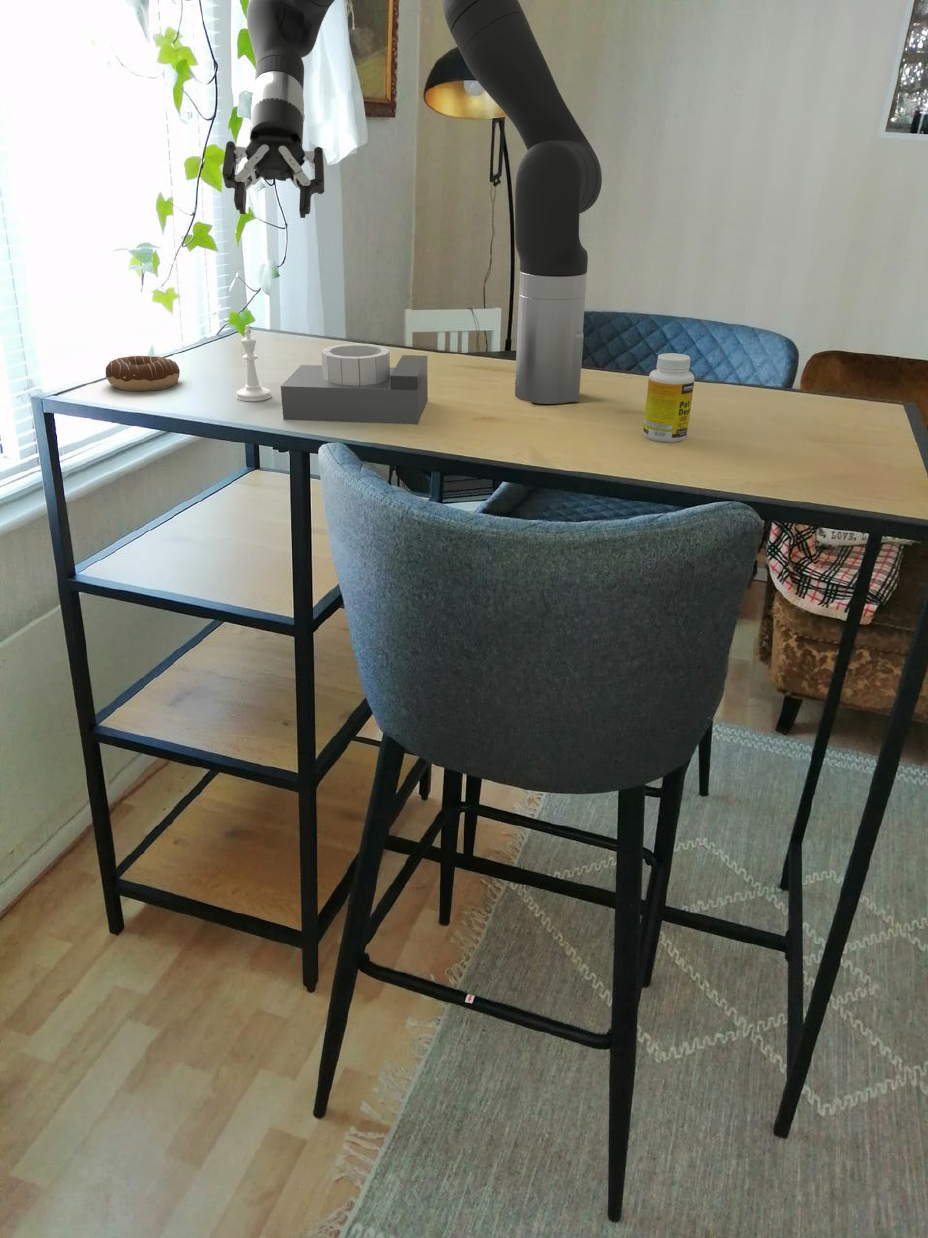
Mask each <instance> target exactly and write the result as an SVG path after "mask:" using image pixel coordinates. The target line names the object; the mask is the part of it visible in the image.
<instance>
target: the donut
mask: <svg viewBox="0 0 928 1238" xmlns="http://www.w3.org/2000/svg"><path fill="white" fill-rule="evenodd" d="M180 373H181V372H180V368H179V365H178V363H177V362H176V361H173V359H170V358H166V357H161V356H151V355H130V356H129V355H128V356H124V357H118V358H115V359H112V360H111V361H109V363H108V364H107V365H106V367H105V377H106V379H107V381H108V383H109V384H110V385H112V387H114V388H116V389H119V390H122V391H127V392H128V391H129V392H148V391H158V390H163V389H166V388H171V387H172V386H174V385H175V384H176V383H177V382H178V380H179V379H180Z"/></svg>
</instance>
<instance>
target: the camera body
mask: <svg viewBox="0 0 928 1238" xmlns="http://www.w3.org/2000/svg"><path fill="white" fill-rule="evenodd" d="M390 358H391V357H390V349H389V348H387V347H385V346H383V345H376V344H371V343H347V344H346V343H345V344H337V345H331V346H327V347H325V348H324V349H323V350H322V351H321V365H319V364H317V365H316V364H315V365H313V364H301V365H299V367H298V368H297V369H296V370H295V371H294V372H293V373H292V374H291V375H290V376H289V377H288V378H287V379H286V380H285V381H284V382H283V383H282V384H281V385H280V393H281V404H282V405H281V407H282V417H283V419H282V420H283V421H301V422H302V421H303V422H305V421H306V422H307V421H308V422H310V421H311V422H332V423H333V422H335V423H339V422H340V423H365V424H391V425H392V424H393V425H397V424H398V425H419V422H420V420H421V417H422V415H423V413H424V410H425V408H426V405H427V403H428V401H429V400H428V399H429V398H428V394H429V393H428V389H429V388H428V355H418V354H417V355H413V354H402V356H401V357H400V359H399V360H398V362H397V363H396V366H395V367H391V359H390Z"/></svg>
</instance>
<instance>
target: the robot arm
mask: <svg viewBox="0 0 928 1238" xmlns="http://www.w3.org/2000/svg"><path fill="white" fill-rule="evenodd" d="M335 1H336V0H249V1H248V5H247V10H246V26H247V32H248V36H249V39H250V44H251V48H252V51H253V57H254V60H255V76H254V77H255V78H254V80H255V81H254V88H253V92H252V93H253V94H252V99H251V115H250V129H249V130H250V132H249V142H248V144H247V145H246V146H237V145H236V144H235V142H234V141H232V140H229V141H227V142H226V145H225V151H224V157H223V165H222V173H221V174H222V179H223V182H224V187H226V188H227V189H234V196H233V203H234V207H235V209H236V211H239V214H240V215H246V212H247V211H246V209H247V207H246V206H247V190H248V189H249V188H250V187H251V186H254V185H257V183H258V182H259V181H260V180H261V179H262V178H263V180H265V181H272V180H277V181H280V182H286V181H287V180H290V182H292V184H293V185H294V186H295V187H296V188H298V189H299V204H298V205H299V210H298V211H299V216H300V219H301V218H302V219H306V215H310V213H311V206H312V202H311V200H312V196H313V195H314V194H316V193H317V194H318V195H322V194H324V193H325V171H324V170H325V168H324V167H325V166H324V165H325V163H324V161H325V160H324V152H323V148H322V147H321V146H316V147H315V148H314V150H313V151H310V150H309V151H308V150H304V148H303V141H304V139H303V137H304V122H305V117H306V116H305V100H304V86H305V85H304V83H305V64H304V61H303V58H305V57H307V56H309V54H311V52H312V51H313V50H314V47H315V46H316V45H315V44H316V42H317V40H318V35H319V32H320V29H321V27H322V23H323V21H324V19H325V17H326V14H327V13H328V11H329V8H330V7H331V6H332V4H333V3H334V2H335ZM442 8H443V13H444V14H443V15H444V18H445V23H446V24H447V28H448V30H449V32H450V34H451V36H452V38H453V40H454V42H455V45H456V46H457V48H458V50H459V53H460V55H461V57H462V58H463V61H464V62H465V64H466V66H467V68H468V69H469V72H470V73H471V74H472V75H473V78H475V80H476V82H478V84H479V85H480V86H481V87H482V89H483V90H484V91H485V92H486V93H487V95H489V97H490V98H491V99H492V101H494V102H495V103H496V104H497V106H499V108H500V109H501V111H503V112H504V113H505V115H506V116H507V117H508V118H509V120H510V121H511V122H512V124H513V125H514V127H515V128H516V130H517V132H518V133H519V135H520V138H521V140H522V141H523V143H524V145H525V148H526V150H527V151H526V152H525V154H524V155H523V156H522V158H521V159H520V162H519V164H518V165H519V166H518V168H517V172H516V176H515V177H516V178H515V187H514V188H515V189H514V191H515V193H514V240H515V248H516V252H517V254H518V257H519V258H518V259H519V281H518V283H519V284H518V306H517V307H518V309H517V330H516V331H517V332H516V334H517V335H516V354H515V356H516V357H515V360H516V361H515V379H514V382H515V383H514V387H515V388H514V396H515V397H516V398H517V399H519V400H521V401H524V402H529V403H534V404H542V405H554V404H555V405H556V404H557V405H558V404H566V403H579V401H580V392H581V391H580V389H581V378H582V375H581V374H582V362H583V349H584V331H583V330H584V319H585V318H584V317H585V302H586V289H587V288H586V287H587V276H588V275H587V274H588V273H587V272H588V261H589V255H588V251H587V249H585V248H584V246H583V245H582V243H581V240H580V214H583V213H585V212H587V211H588V210H589V209H590V208H592V207H593V206H594V204H595V203H597V200H598V198H599V196H600V194H601V189H602V185H603V184H602V183H603V182H602V181H603V178H602V177H603V174H602V167H601V164H600V160H599V158H598V156H597V154H596V152H595V150H594V149H593V147H592V145H591V143H590V142H589V139H587V137H586V136H585V133H584V132H583V131H582V129H581V127H580V125H579V124H578V123H577V121H576V119H575V118H574V116H573V114H572V113H571V111H570V109H569V107H568V106H567V103H566V102H565V100H564V98H563V97H562V94H561V93H560V90H559V88H558V87H557V84H556V82H555V79H554V77H553V75H552V71H551V70H550V68H549V65H548V63H547V60H546V59H545V57H544V55H543V52H542V50H541V48H540V46H539V44H538V42H537V39H536V37H535V36H534V33H533V31H532V28H531V25H530V22H529V21H528V18H527V16H526V14H525V13H524V10H523V8H522V6H521V4H520V1H519V0H442ZM243 158H246V160H247V161H246V162H245V163H244V165H243V168H242V169H241V170H240V171H239V172H238V173H236V169H237V165H240V163H241V162H242V160H243ZM305 162H307V163H308V164H309V166H310V167H311V168H312V169H313V170H314V178H313V179H309V177H308V176H307V175H306V173H305V172H304V171H303V168H302V166H303V165H305Z"/></svg>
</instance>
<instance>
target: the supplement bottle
mask: <svg viewBox="0 0 928 1238" xmlns="http://www.w3.org/2000/svg"><path fill="white" fill-rule="evenodd" d="M690 368H691V357H690V355H688V354H683V353H677V352H676V353H675V352H673V353H672V352H671V353H669V352H667V353H661V354H658V356H657V361H656V369H653V370H652V371H650V373H649V376H648V383H647V391H646V392H647V393H646V403H645V412H644V420H643V427H642V428H643V429H642V430H643V433H642V434H643V435H644V437H646V438H647V439H649V440H651V441H654V442H659V443H678V442H681V441H683V440H685V439H686V437H687V435H688V429H689V423H690V415H691V406H692V400H693V392H694V386H695V385H694V384H695V375H694V374H693V372H691V371H690Z"/></svg>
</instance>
